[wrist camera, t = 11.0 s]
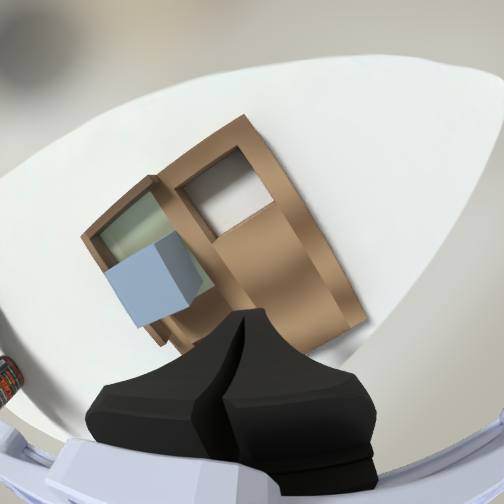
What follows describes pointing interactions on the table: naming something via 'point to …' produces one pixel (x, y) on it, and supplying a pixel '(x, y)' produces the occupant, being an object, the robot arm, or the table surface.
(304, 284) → the brown compartment tray
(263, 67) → the table surface
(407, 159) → the table surface
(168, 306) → the slate block
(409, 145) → the table surface
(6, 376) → the supplement bottle
